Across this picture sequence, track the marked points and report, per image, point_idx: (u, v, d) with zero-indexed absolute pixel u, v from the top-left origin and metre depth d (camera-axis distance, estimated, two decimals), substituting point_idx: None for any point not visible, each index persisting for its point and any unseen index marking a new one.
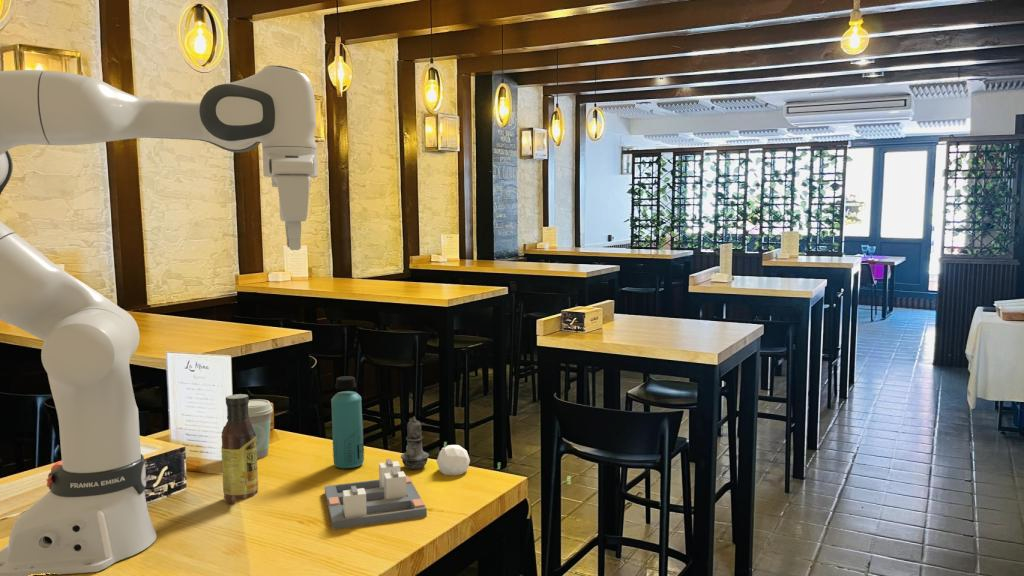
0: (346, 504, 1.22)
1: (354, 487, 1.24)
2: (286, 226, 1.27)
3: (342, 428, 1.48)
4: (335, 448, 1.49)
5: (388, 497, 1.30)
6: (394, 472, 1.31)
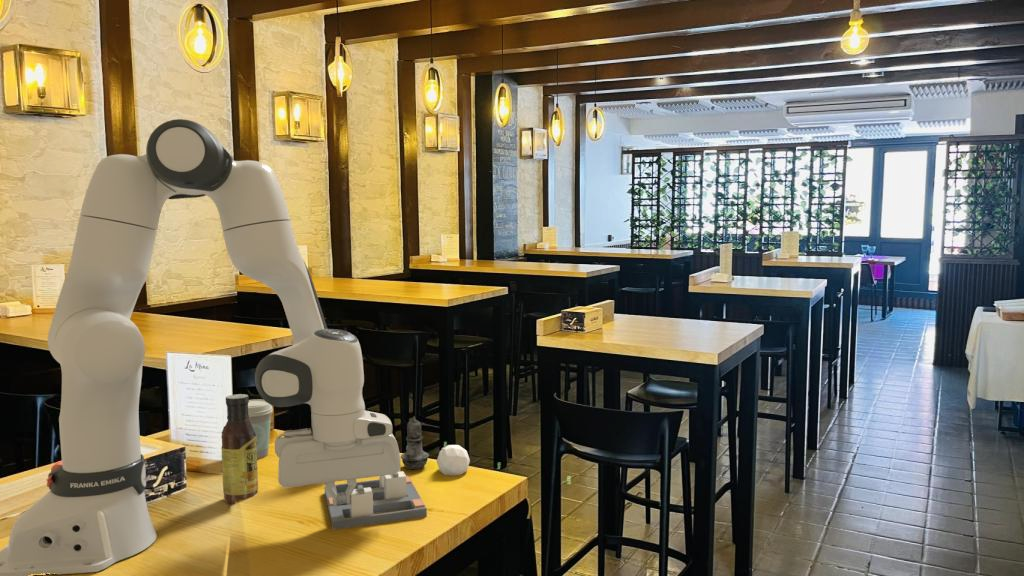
0: (353, 503, 1.22)
1: (361, 486, 1.24)
2: None
3: None
4: None
5: (388, 497, 1.30)
6: None
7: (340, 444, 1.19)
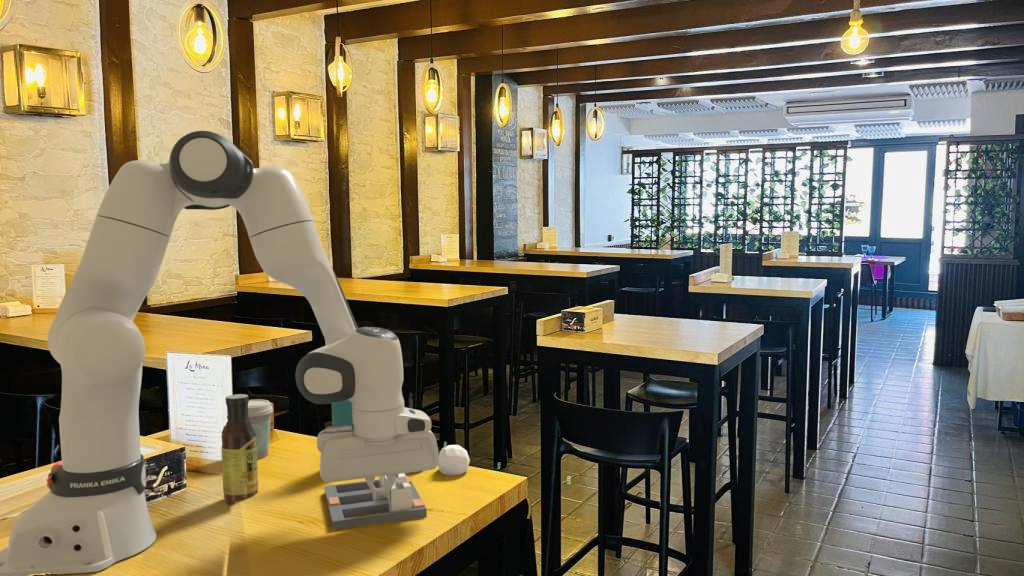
0: (392, 498, 1.24)
1: (399, 481, 1.27)
2: (374, 480, 1.24)
3: None
4: None
5: None
6: None
7: (381, 440, 1.21)
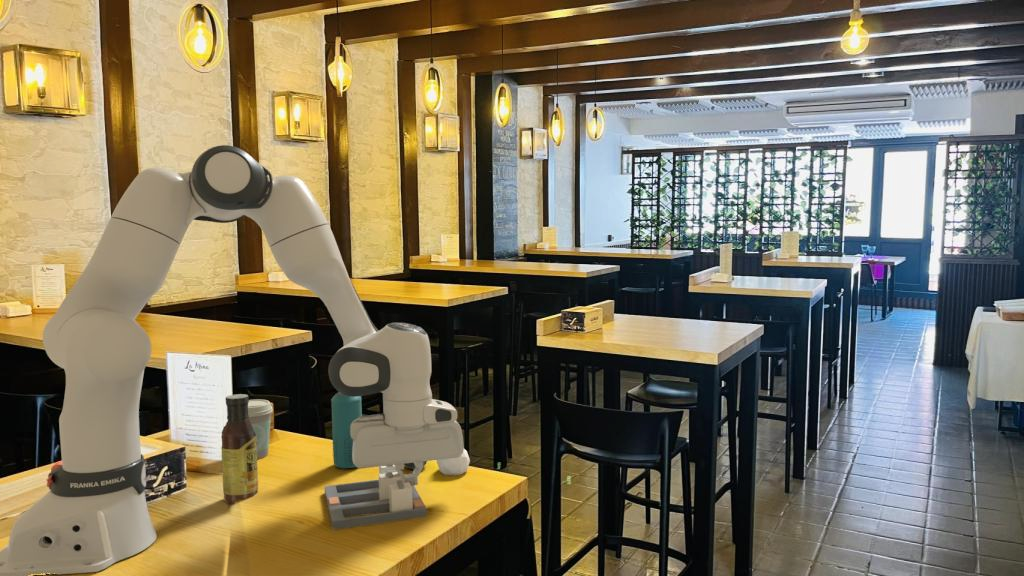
0: (393, 498, 1.24)
1: (400, 481, 1.27)
2: (403, 467, 1.31)
3: (342, 428, 1.48)
4: (335, 448, 1.49)
5: (383, 498, 1.30)
6: (389, 473, 1.31)
7: (410, 428, 1.29)
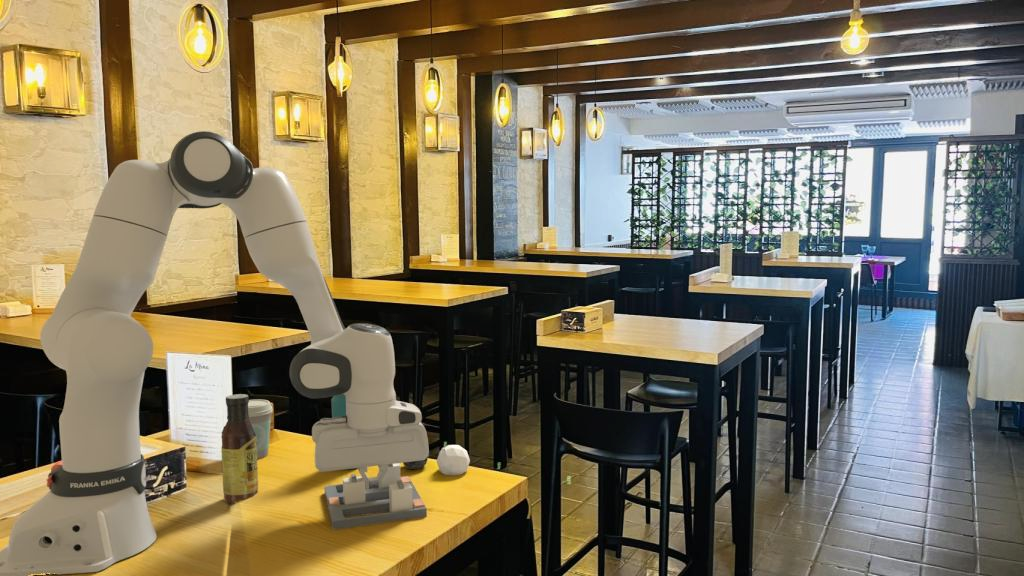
0: (393, 498, 1.24)
1: (400, 481, 1.27)
2: None
3: None
4: None
5: (346, 502, 1.28)
6: (353, 477, 1.29)
7: (373, 431, 1.27)
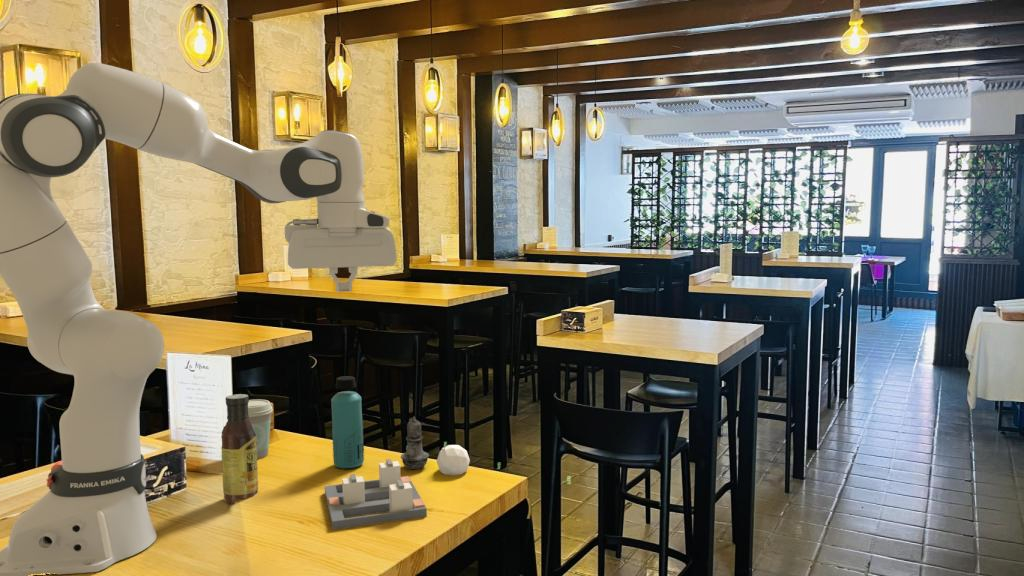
0: (393, 498, 1.24)
1: (400, 481, 1.27)
2: (337, 272, 1.36)
3: (342, 428, 1.48)
4: (335, 448, 1.49)
5: (346, 503, 1.28)
6: (352, 477, 1.29)
7: (343, 231, 1.34)
